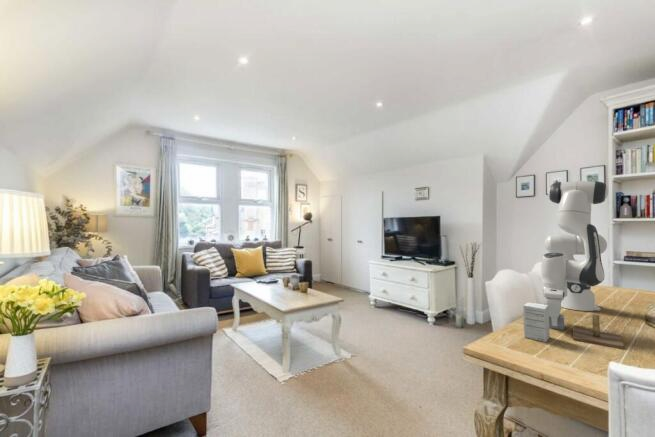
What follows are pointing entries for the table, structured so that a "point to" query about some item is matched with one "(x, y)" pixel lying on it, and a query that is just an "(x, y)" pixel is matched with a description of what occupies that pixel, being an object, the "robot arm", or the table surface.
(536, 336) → the supplement box
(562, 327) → the collar
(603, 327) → the table surface
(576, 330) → the post board
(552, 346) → the table surface
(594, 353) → the table surface
